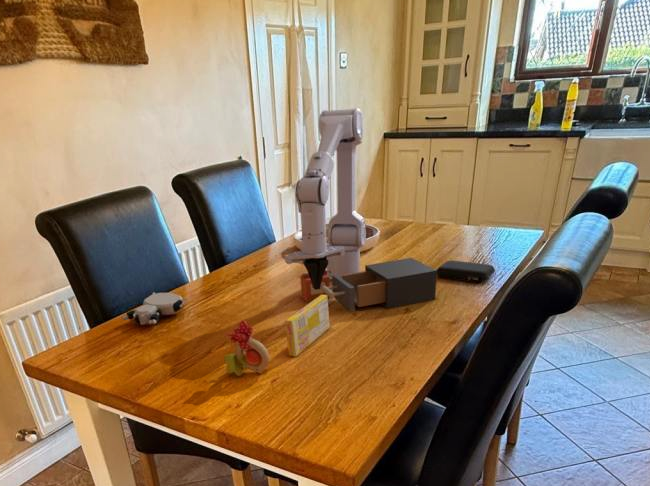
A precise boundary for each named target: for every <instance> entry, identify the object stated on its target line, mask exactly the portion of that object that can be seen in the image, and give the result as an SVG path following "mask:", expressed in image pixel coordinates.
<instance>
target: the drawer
mask: <svg viewBox="0 0 650 486" xmlns="http://www.w3.org/2000/svg"><path fill="white" fill-rule="evenodd" d="M322 291H323V292H325V293H326V294H327V295H328V296H329V297H330V298H329V299H335V300H337V301H338V302H339V303H340V304H341V305H343V306H344V307H345V308H346V309H347V310H348V311H350V312H352V311H355V310H356V309H355V306H356V307H358V308H360V307H366V306H372V305H373V306H374V305H378V304H380V303H383V302H386V281H385V280H384V279H382V278H380V277H379V276H377V275H375V274H374V273H372V272H371V271H365V270H363V271H360V272H357V273H351V274H345V275H342V278H340V277H339V276H338V275H332V280H331V285H329V287H326V286H323V287H322Z"/></svg>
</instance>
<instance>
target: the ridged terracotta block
mask: <svg viewBox="0 0 650 486" xmlns="http://www.w3.org/2000/svg"><path fill="white" fill-rule="evenodd" d="M299 277H300V291H301V299H303V300H304V301H305V302H306V303H310V302H312V301H313V300H315V299H316V298H317V297H319V296H320V295H327V294H326V293H325V292H323V291H322V287H323V286H326V287H330V279H329V276H328V275H327V269H326V270H325V272H324V275H323V278H322V282H321V287H320V289H317V290H315V289H314V288H313V287H312V283H311V279H310V276H309V274H308V272H305V273H301V275H300V276H299ZM327 299H331V298H330V297H329V296H328V295H327Z"/></svg>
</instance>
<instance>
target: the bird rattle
mask: <svg viewBox="0 0 650 486" xmlns="http://www.w3.org/2000/svg"><path fill="white" fill-rule="evenodd" d="M253 331H254V328H253V327H252V326H251V325H248V324H247V322H246V320H245V319H243V320H241V321H240V323H239V324H238V326H237V327H234V329H233V333H231V332H230V333H229V332H228V333H226V335H227V336H228V337H230V338H229V339H230V342H231V343H233V344H234V343H236V342H237V344H236V346H235V352H234V353H228V354H226V355H224V358H223V359H224V363H225V364H226V373H227V374H228V375H231V374H233V373H234V374H235V375H236V377H240V376H242V374H243V373H242V372H243V371H242V369H244V368H246V369H247V370H250V371H253V372H256V373H258V374H263V373H264V372H265V371H264V370H265V369H266V368H267V366H268V365H269V362H270V354H269V351H268V349H267V348H266V347H265V346H264V344H263V343H261V341H258V340H257V339H254V338H253V337H251V336H252V334H253ZM246 349H247V350H246Z"/></svg>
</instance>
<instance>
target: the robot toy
mask: <svg viewBox="0 0 650 486" xmlns="http://www.w3.org/2000/svg"><path fill="white" fill-rule="evenodd" d="M189 299H190V296H187V297H186V299H185V300H184V299H183V297H182V296H181V295H179V294H176V293H172V292H155V291H154V292H152V294H151V295H149V296H148V297H146V298H144V300H143V302H142V304H143V305H141V306H139V307H137V308H136V309H132V310H130V311H127V312H126V314H122V315H121V317H120V318H121V319H122V320H123V321H126V320H130V321H131V320H133V319H134V322H135V324H136V325H148V326H150V325H157V324H158V323H159V321H160V317H161V316H169V315H171V316H173V315H176V314H177V313H178V312H179V311H180V310H182V309H183V308H184V306H185V303H186V302H187V301H188V300H189Z"/></svg>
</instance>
